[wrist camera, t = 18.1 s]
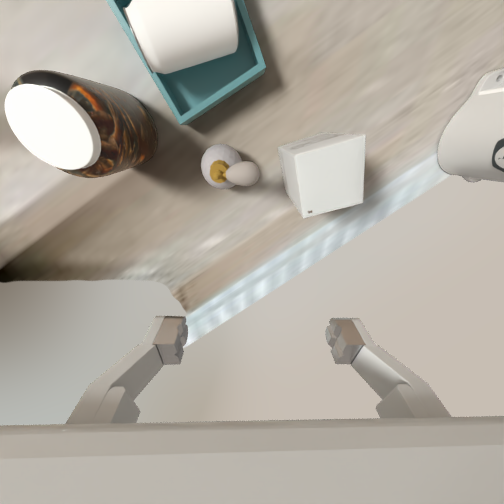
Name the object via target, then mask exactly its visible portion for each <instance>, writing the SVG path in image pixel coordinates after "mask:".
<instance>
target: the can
mask: <svg viewBox="0 0 504 504" xmlns="http://www.w3.org/2000/svg"><path fill="white" fill-rule="evenodd" d="M123 10H124V13H125V16H126V18H127V21H128V23H129V26H130V28H131V31H132V33H133V35H134V38H135V40H136V42H137V44H138V47H139V49H140V51H141V53H142V55H143V57H144V59H145V62H146V64H147V66H148V67H149V69H150V71H151V73H152V74H153V72H158V73H162V74H168V73H172V72H175V71H178V70H182V69H185V68H188V67H191V66H194V65H198V64H201V63H204V62H207V61H210V60H213V59H217V58H220V57H223V56H226V55H229V54H232V53H235V52H236V49H237V48H238V45H239V29H238V20H237V13H236V7H235V2H234V0H132V1H131V3H130V5H129V6H128V7H127V8H125V7H123Z"/></svg>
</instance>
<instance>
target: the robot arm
mask: <svg viewBox="0 0 504 504" xmlns="http://www.w3.org/2000/svg"><path fill="white" fill-rule="evenodd" d="M497 77H498V78H497ZM496 79H497V80H496ZM437 157H438V162H439V165H440V167H441V168H442V169H443V170H444V171H445V172H447V173H449V174H453V175H459V176H462V177H463V178H464V179H465V180H466V181H468V182H478V181H480V180H481V179H483V180H491V181H499V182H504V67H503V68H500V69H497V70H494V71H491V72H488V73H487V74H485V75H484V76H483V77H482V78H481V79H480V81H479V82H478V84H477V86H476V87H475V89H474V91H473V92H472V94H471V96H470V98H469V99H468V100H467V101H466V103H465V104H464V105H463V106H462V107H461V108H460V109H459V110H458V111H457V113H456V114H455V115H454V116H453V118H452V119H451V120H450V122H449V123H448V125H447V127H446V128H445V130H444V132H443V134H442V137H441V139H440V142H439V146H438V153H437ZM329 322H330V325H329V326H328V327H327V329H326V340H327V342H328V344H329V345H330V346H331V347H332V350H331V353H332V355H333V358H334V361H335V363H336V364H351V366H352V367H353V368H354V369H355V370H356V371H357V372H358V373H359V374H360V376H361V377H362V378H363V379H364V380H365V381H366V382H367V383H368V384H369V385H370V387H372V389H374V391H375V392H376V393H377V394H378V395H379V396H380V397H381V398H382V401H381V402H380V403H379V404H378V405H377V406H376V409H377V412H378V414H379V416H380V418H379V419H378V418H377V419H327V420H325V419H323V420H269V421H216V422H165V423H164V422H163V423H162V422H160V423H136V422H137V419H138V417H139V414H140V410H139V408H138V407H137V405H136V404H135V402H134V399H135V398H136V397H137V396H138V395H139V394H140V392H141V391H142V390H143V389H144V388H145V387H146V385H147V384H148V383H149V382H150V381H151V380H152V378H153V377H154V376H155V375H156V374H157V373H158V371H159V370H160V369H161V368H162V367H163V365H167V364H180V363H181V359H182V356H183V352H184V351H183V346H184V345H185V344H186V341H187V336H188V326H187V325H186V324H185V323H186V317H182V316H181V317H180V316H156V317H155V318H154V319H153V321H152V323H151V325H150V328H149V329H148V331H147V334H146V336H145V338H144V340H143V342H142V344H141V345H137V346H136V347H135V348H134V349H132V350H131V351H130V352H129V353H128V354H126V355H125V356H124V357H123V358H121V359H120V360H119V361H118V362H117V363H115V364H114V365H113V366H112V367H111V368H109V369H108V370H107V371H106V372H105V373H103V374H102V375H101V376H100V377H99V378H97V379H96V380H95V381H94V382H92V383H91V384H90V385H89V386H88V388H87V389H86V391H85V393H84V394H83V396H82V397H81V399H80V401H79V402H78V404H77V406H76V407H75V409H74V411H73V412H72V414H71V416H70V417H69V419H68V420H67V422H66V424H58V425H57V424H52V425H6V426H5V425H4V426H0V504H504V416H489V417H488V416H486V417H451V415H450V414H449V412H448V411H447V410H446V409H445V407H444V405H443V404H442V403H441V401H440V400H439V398H438V397H437V396H436V394H435V393H434V391H433V390H432V389H431V387H430V386H429V384H428V383H427V382H425V381H424V380H423V379H421V378H420V377H419V376H418V375H416V374H415V373H414V372H412V371H411V370H410V369H409V368H407V367H406V366H405V365H403V364H402V363H401V362H399V361H398V360H397V359H396V358H394V357H393V356H392V355H390V354H389V353H388V352H387V351H385V350H384V349H383V348H381V347H380V346H379V345H378V346H377V345H376V344H375V343H374V341H373V340H372V338H371V336H370V335H369V333H368V332H367V330H366V328H365V326H364V325H363V323H362V321H361V320H360V319H359V318H331V319H330V321H329Z"/></svg>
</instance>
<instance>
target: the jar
mask: <svg viewBox="0 0 504 504" xmlns="http://www.w3.org/2000/svg"><path fill="white" fill-rule="evenodd" d="M5 112H6V117H7V120H8V122H9V125H10V127H11V129H12V130H13V132H14V134H15V135H16V136H17V138H18V139H19V140H20V142H21V143H22V144H23V145H24V146H25V147H26V148H27V149H28V150H29V151H30V152H31V153H33V154H34V155H35V156H36V157H38V158H39V159H41V160H42V161H44V162H46V163H48V164H50V165H52V166H55V167H57V168H58V169H60V170H62V171H64V172H67V173H69V174H72V175H75V176H79V177H85V178H97V177H103V176H107V175H111V174H114V173H117V172H120V171H123V170H126V169H129V168H132V167H134V166H137V165H140V164H142V163H145V162H146V161H148V160H149V159H150V158H151V157H152V156H153V155H154V153H155V151H156V148H157V143H158V136H157V130H156V127H155V124H154V121H153V119H152V117H151V116H150V114H149V112H148V111H147V110H146V108H145V107H144V106H143V105H142V104H141V103H140V102H139V101H138V100H137V99H136V98H134V97H133V96H131V95H130V94H128V93H126V92H124V91H122V90H120V89H117V88H114V87H111V86H107V85H104V84H101V83H97V82H94V81H91V80H87V79H83V78H80V77H76V76H72V75H69V74H64V73H60V72H55V71H48V70H34V71H30V72H27V73H25V74H23V75H21V76H20V77H19V78H18V79H17V80H16V81H15V82H14V84H13V86H12V88H11V90H10V91H9V93H8V94H7V96H6V100H5Z"/></svg>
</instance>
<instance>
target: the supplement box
mask: <svg viewBox="0 0 504 504" xmlns="http://www.w3.org/2000/svg"><path fill="white" fill-rule="evenodd" d="M365 144H366V135H358V134H339V133H319V134H316V135H313V136H310V137H307V138H304V139H300V140H297V141H294V142H291V143H288V144H285V145H282V146H279V147H278V152H279V158H280V164H281V169H282V175H283V180H284V186H285V191H286V193H287V194H288V196H289V197H290V199H291V200H292V202H293V203H294V205H295V206H296V208H297V209H298V211H299V213H300V214H301V216H302V217H303V218H308V217H312V216H315V215H319V214H323V213H326V212H330V211H334V210H337V209H341V208H346V207H350V206H353V205H357V204H361V203H363V193H364V170H365Z"/></svg>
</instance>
